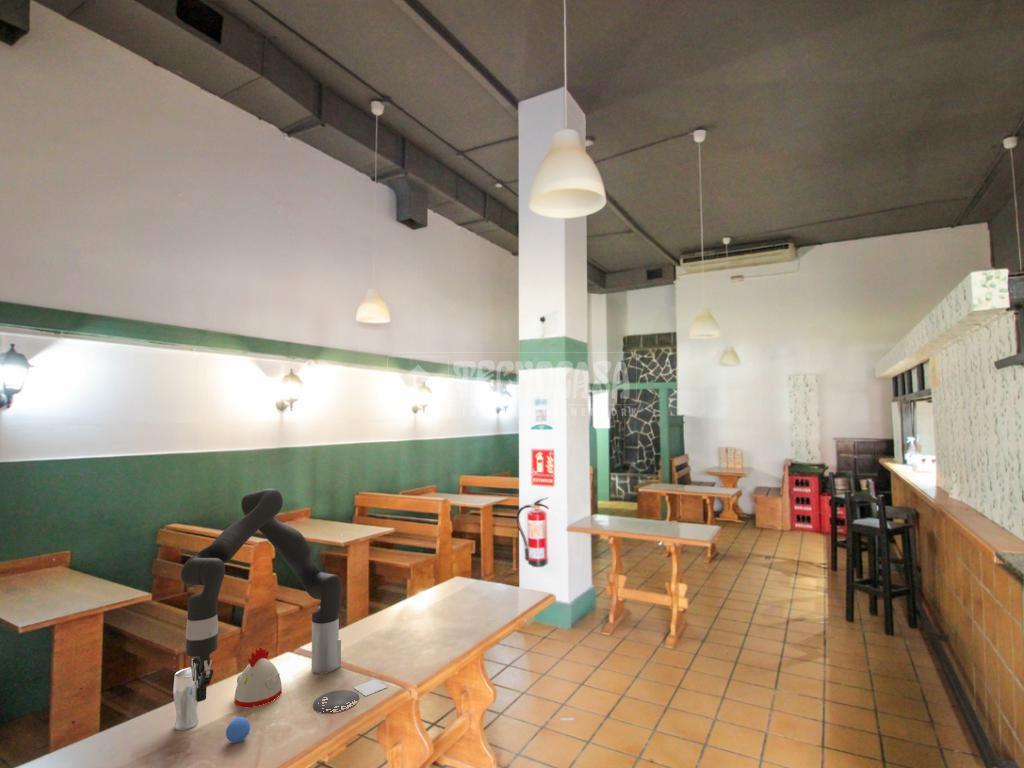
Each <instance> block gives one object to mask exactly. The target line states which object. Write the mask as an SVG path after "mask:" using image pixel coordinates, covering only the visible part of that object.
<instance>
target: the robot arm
mask: <svg viewBox="0 0 1024 768" xmlns="http://www.w3.org/2000/svg"><path fill="white" fill-rule="evenodd" d="M240 504H241V511H242V513H243V514H244V515H243V517H242V518H240V519H238V520H237V521H236V522H234V523H233V524H231V525H230V526H228V527H227V528H225V529H224V530H223V531H222V532H221V533H220V534H219V535H218V536H217V537H216V538H215V539H214V540H213V542H212V543H211V544H209V545H208V546H206V547H205V548H202V549H201V550H200V551H198V552H197V553H194V555H192V556H191V557H190V558H188V560H186V561H185V563H184V564H183V566H182V569H181V571H180V578H181V581H182V582H183V583H184V584H185V585H189V586H203V590H202V592H198V593H194V594H192V595H191V596H190V597H189V599H188V600H187V619H186V620H187V622H186V627H185V628H186V629H185V655H186V656H187V657H193V658H191V659H190V661H189V663H190V668H191V670H192V676H193V681H195V683H194V685H195V686H196V701H197V702H198V703H200V702H204V701H205V700H206V699H207V686H209V685H210V684H211V681H212V678H213V675H214V669H213V668H211V666H212V664H213V663H212V661H213V660H212V657H211V656H210V655H211V654H212V653H214V652H215V651H216V650H217V649H218V645H219V641H218V639H219V617H218V599H219V595H220V592H221V588H222V583H223V581H224V579H225V575H226V566H225V563H228V562H229V561H231V560H232V558H233V557H234V556H235V555H236V554H237V553H238V552H239V551H240V550H241V548H242V546H244V545H245V544H246V543H247V541H248V540H249V539H250V538H252V536H253V535H255V534H256V532H258V531H259V532H260V533H262V534H263V536H264V537H265V538H266V539H267V540H268V541H269V543H270V544H271V545H272V546H273V548H274V549H275V550H276V552H277V553H278V554H279V556H281V558H282V559H283V561H284V563H286V564H287V566H288V567H289V568H290V569H291V570H292V571H293V573H294V574H295V575H296V576H297V577H298V579H299V580H300V582H301V584H302V586H303V588H304V589H305V591H306V593H307V594H308V595H309V596H310V598H312V599H314V600H319V601H320V606H319V608H317V609H315V610H314V611H313V612H312V613H311V672H312V673H313V674H321V675H323V674H328V673H332V672H334V671H335V670H337V669H338V668H340V667H342V639H341V638H340V637H339V636H340V635H339V634H340V633H339V632H340V631H339V628H340V627H339V626H340V625H339V624H340V621H339V618H340V617H339V616H340V612H341V607H342V596H343V587H342V586H343V584H342V580H341V577H340V576H339V575H337V574H332V573H328V572H323V571H321V569H319V567H318V566H317V565H316V564H315V562H314V560H313V552H312V548H311V545H310V543H309V542H308V541H307V539H306V538H305V536H304V535H303V534H302V533H301V532H300V531H299V530H297V529H296V528H294V527H292V526H291V525H288V524H286V523H285V522H282V521H280V520H278V519H277V518H276V516H277V515H278V514H279V513H281V510H282V508H283V505H284V500H283V496H282V494H281V492H280V491H279V490H278V489H276V488H273V487H272V488H271V487H270V488H264V489H261V490H257V491H252V492H250V493H247V494H245V495H244V496H243V497H242V499H241V503H240Z"/></svg>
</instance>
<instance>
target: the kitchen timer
mask: <svg viewBox="0 0 1024 768" xmlns="http://www.w3.org/2000/svg"><path fill="white" fill-rule="evenodd" d="M269 653H270V651H269V650H266V649H263V648H262V647H259V649H256V650H255V652H251V658H248V659H247V660H248V664H247V666H246V667H245V668H244V669H243V671H242V672H241V673H240V674H239V675H237V678H236V683H237V684H236V688H235V692H234V704H235V706H237V705H238V707H239V706H240V708H244V707H248V708H254V707H253V706H257V707H260V706H259V705H261V706H264V705H263V704H265V705H267V704H269V703H268V702H270V703H272V702H274V701H275V700H277V699H278V698H279V697H280V696H281V695H282V690H283V689H282V688H283V687H282V678H281V675H280V673H279V670H278V669H277V667H276V665H274V663H273V662H272V661H270V660H269V659H268V656H269ZM280 694H281V695H280ZM278 696H279V697H278ZM277 697H278V698H277ZM276 698H277V699H276ZM274 699H275V700H274ZM273 700H274V701H273ZM271 701H272V702H271ZM266 703H267V704H266Z"/></svg>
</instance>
